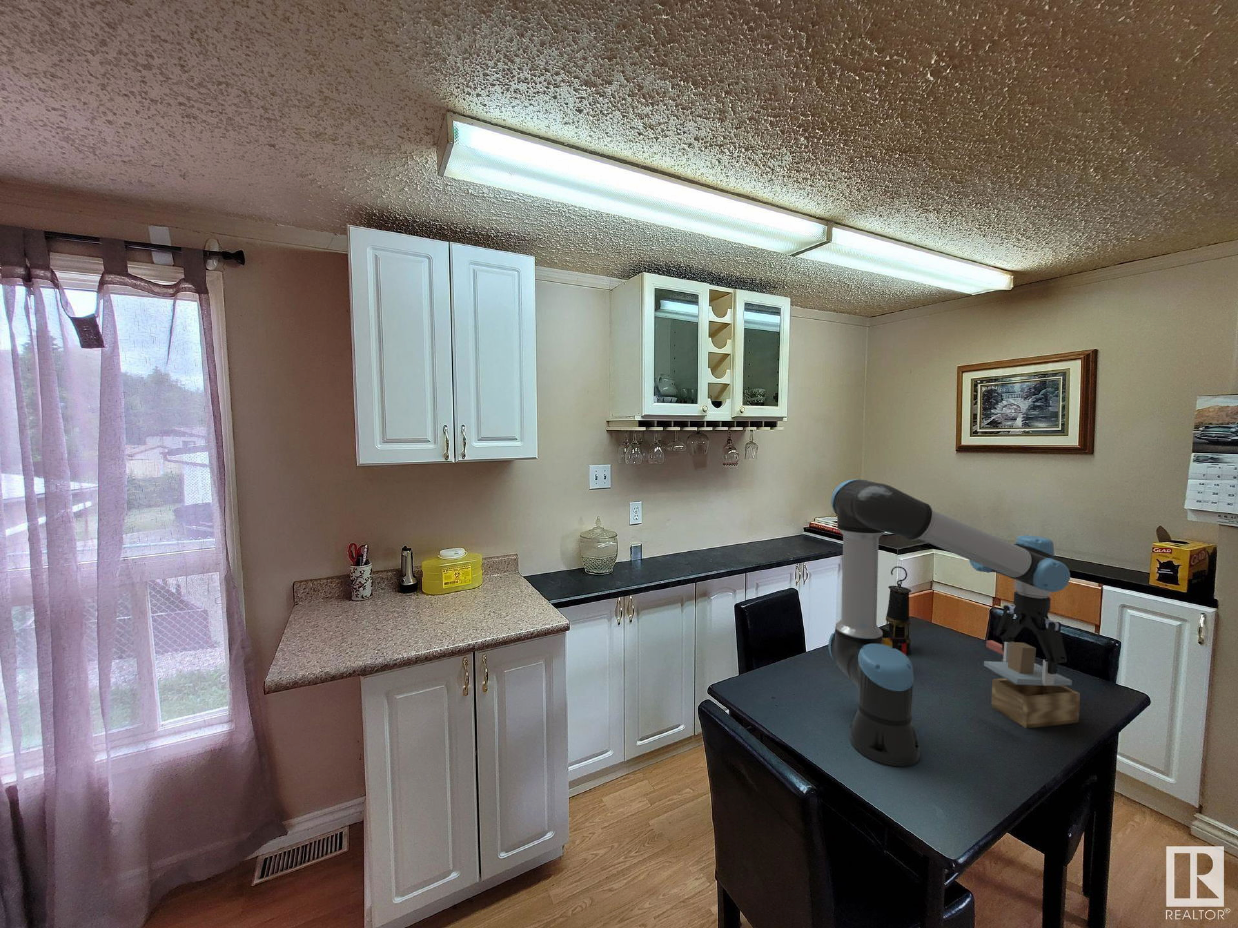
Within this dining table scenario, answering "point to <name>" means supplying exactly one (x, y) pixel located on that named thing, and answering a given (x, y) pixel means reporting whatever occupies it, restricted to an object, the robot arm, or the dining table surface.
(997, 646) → the bar
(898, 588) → the lantern
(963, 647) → the dining table surface
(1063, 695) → the open wooden box
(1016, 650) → the lid
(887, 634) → the mug
